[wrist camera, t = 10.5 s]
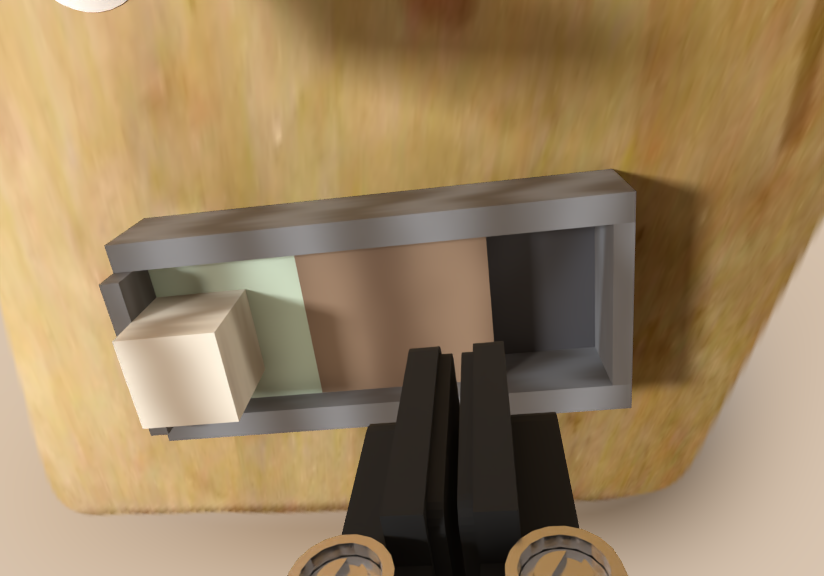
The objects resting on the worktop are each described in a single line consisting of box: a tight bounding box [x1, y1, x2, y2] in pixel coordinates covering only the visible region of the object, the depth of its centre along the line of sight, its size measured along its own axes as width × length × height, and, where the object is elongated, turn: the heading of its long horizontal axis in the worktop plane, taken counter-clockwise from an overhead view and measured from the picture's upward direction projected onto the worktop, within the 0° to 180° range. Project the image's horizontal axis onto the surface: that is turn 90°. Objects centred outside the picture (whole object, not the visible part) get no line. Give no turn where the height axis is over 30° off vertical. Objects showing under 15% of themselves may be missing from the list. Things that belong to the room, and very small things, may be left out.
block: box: [112, 289, 265, 429], centre depth 33 cm, size 5×5×5 cm
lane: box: [99, 169, 636, 441], centre depth 34 cm, size 26×12×6 cm, turn 97°
